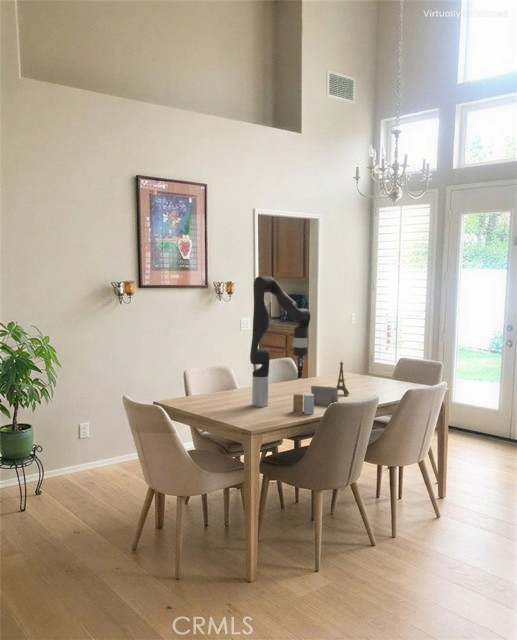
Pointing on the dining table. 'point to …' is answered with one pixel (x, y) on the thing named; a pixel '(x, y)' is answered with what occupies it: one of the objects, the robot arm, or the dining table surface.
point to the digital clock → (324, 395)
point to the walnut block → (298, 403)
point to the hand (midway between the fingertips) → (299, 378)
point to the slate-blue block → (309, 403)
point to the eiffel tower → (342, 382)
